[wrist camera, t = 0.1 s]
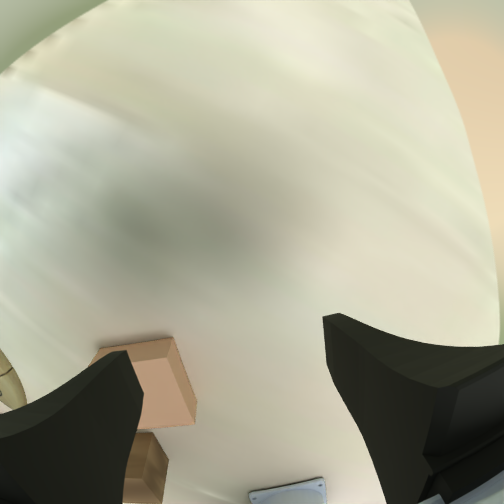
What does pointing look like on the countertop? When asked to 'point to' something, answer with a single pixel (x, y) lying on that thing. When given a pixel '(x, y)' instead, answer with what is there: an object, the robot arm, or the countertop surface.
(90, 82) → the countertop surface
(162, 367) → the base block
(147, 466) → the walnut block
